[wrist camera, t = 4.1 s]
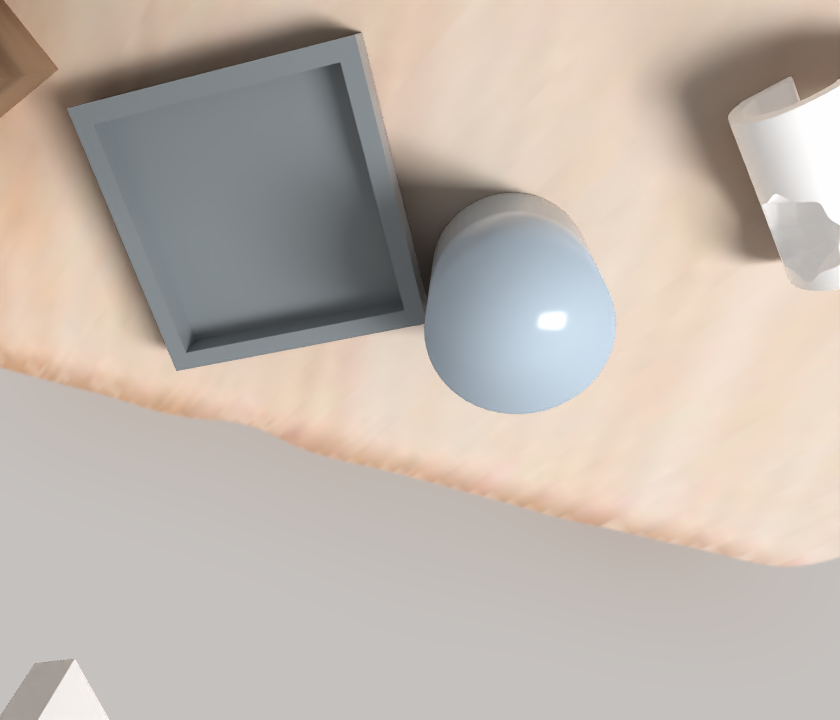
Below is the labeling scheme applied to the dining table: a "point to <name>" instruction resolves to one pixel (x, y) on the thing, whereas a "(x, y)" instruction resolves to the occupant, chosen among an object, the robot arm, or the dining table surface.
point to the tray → (259, 204)
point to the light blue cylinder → (516, 306)
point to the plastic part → (796, 176)
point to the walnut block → (19, 61)
